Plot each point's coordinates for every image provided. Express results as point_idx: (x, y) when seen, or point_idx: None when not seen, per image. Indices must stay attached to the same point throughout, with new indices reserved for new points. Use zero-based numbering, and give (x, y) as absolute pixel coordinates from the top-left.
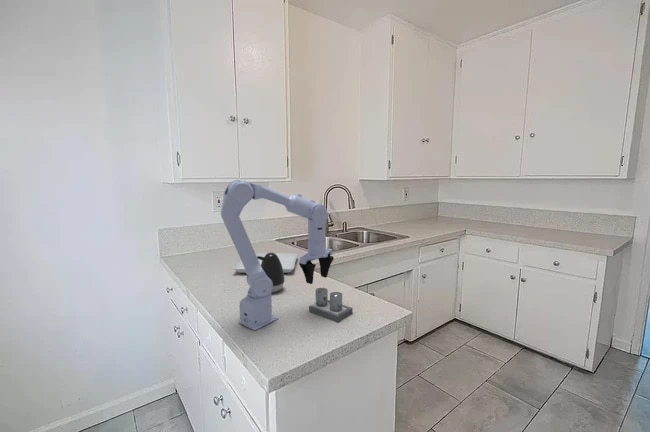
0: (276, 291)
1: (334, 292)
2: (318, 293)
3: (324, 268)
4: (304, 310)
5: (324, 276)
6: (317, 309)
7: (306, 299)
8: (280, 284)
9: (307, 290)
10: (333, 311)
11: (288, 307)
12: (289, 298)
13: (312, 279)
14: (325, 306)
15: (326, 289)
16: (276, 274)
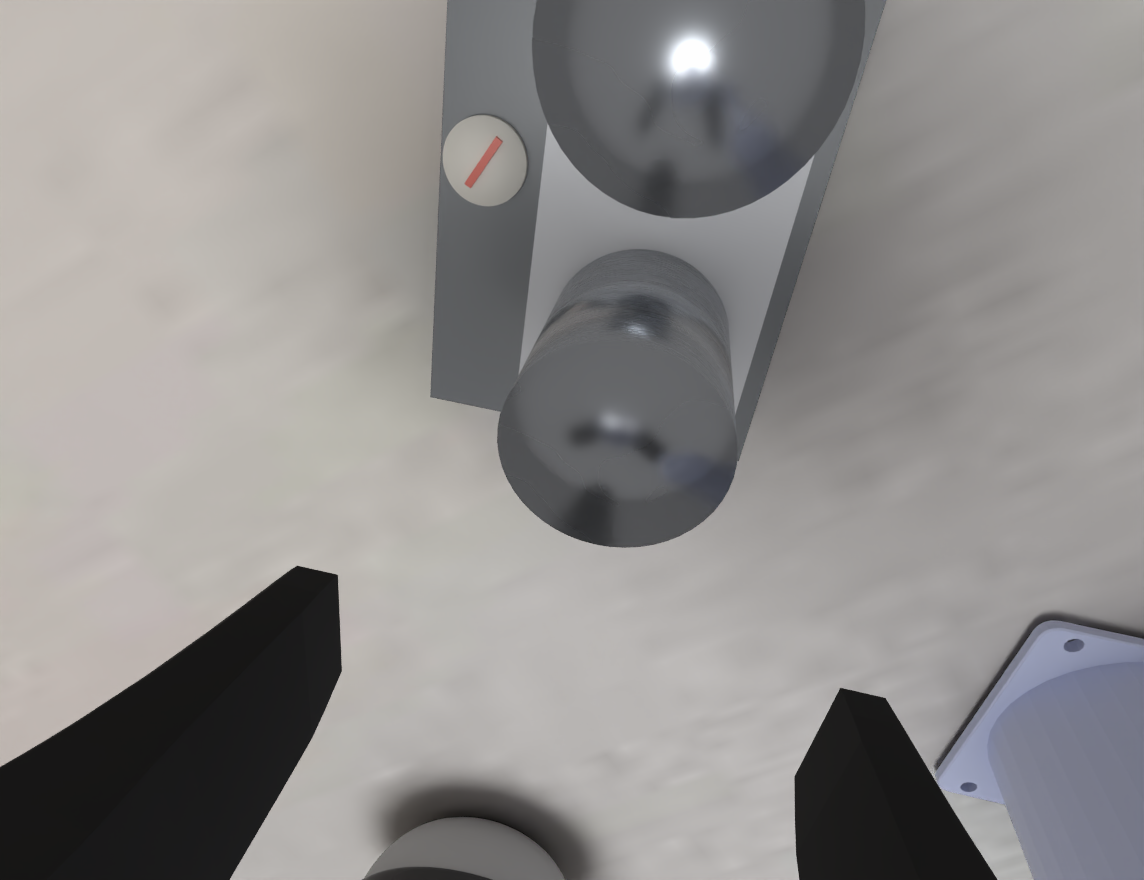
0: (501, 824)
1: (602, 152)
2: (736, 447)
3: (198, 807)
4: None
5: (330, 618)
6: (781, 325)
7: (469, 570)
8: (470, 874)
9: None
10: None
11: (731, 636)
12: (543, 699)
13: (904, 782)
14: (682, 253)
15: (537, 385)
16: None
